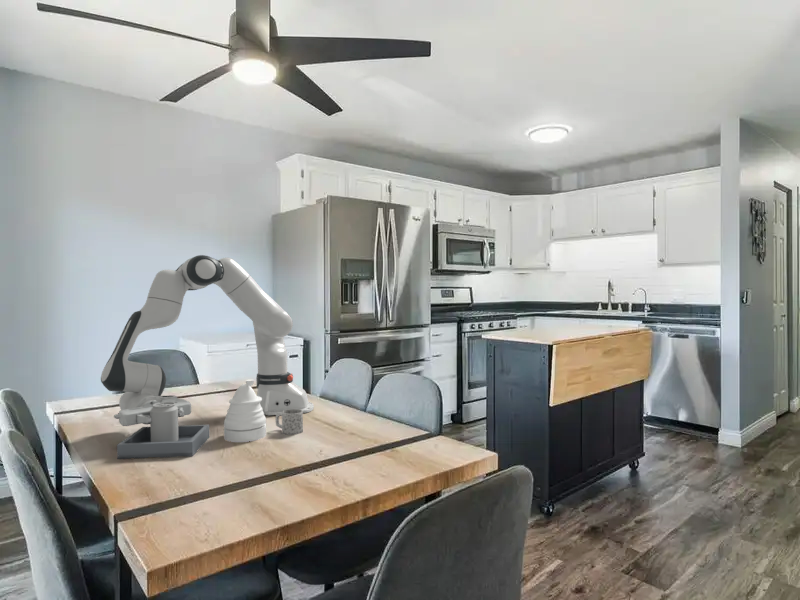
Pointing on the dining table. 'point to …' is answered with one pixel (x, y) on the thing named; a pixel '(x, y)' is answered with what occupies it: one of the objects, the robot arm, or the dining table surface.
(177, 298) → the robot arm
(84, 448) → the dining table surface
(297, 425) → the mug
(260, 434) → the honey pot
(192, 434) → the tray
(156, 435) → the can
